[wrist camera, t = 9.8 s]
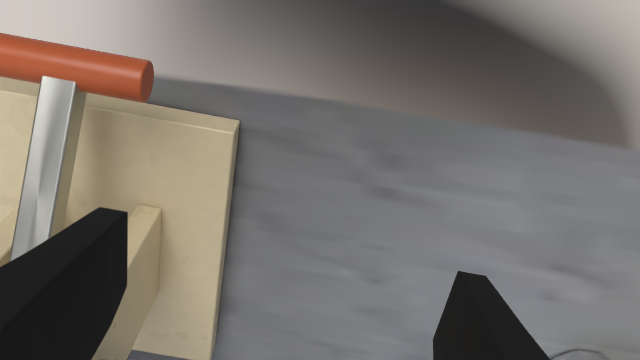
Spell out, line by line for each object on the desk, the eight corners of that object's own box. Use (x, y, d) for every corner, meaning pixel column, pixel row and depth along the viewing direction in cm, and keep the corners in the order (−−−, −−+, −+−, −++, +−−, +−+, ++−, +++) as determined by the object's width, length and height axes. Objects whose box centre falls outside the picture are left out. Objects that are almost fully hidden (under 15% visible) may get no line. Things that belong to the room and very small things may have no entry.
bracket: (-22, 71, 22) (-262, 212, 14) (240, 120, 22) (163, 287, 14) (8, 308, 28) (-146, 508, 20) (215, 344, 28) (150, 557, 20)
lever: (10, 39, 19) (-32, 21, 17) (160, 67, 19) (140, 53, 17) (-50, 384, 20) (-99, 414, 17) (100, 409, 20) (72, 443, 17)
